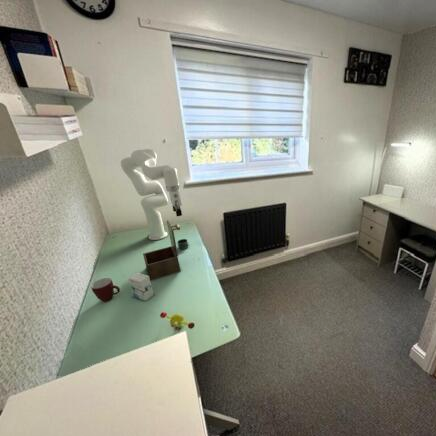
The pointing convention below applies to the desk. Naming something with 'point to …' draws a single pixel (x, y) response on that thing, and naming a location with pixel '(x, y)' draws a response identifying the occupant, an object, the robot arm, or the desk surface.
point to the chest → (161, 262)
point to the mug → (104, 289)
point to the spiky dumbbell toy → (176, 320)
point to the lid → (173, 236)
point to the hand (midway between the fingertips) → (177, 213)
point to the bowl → (182, 243)
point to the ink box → (141, 286)
